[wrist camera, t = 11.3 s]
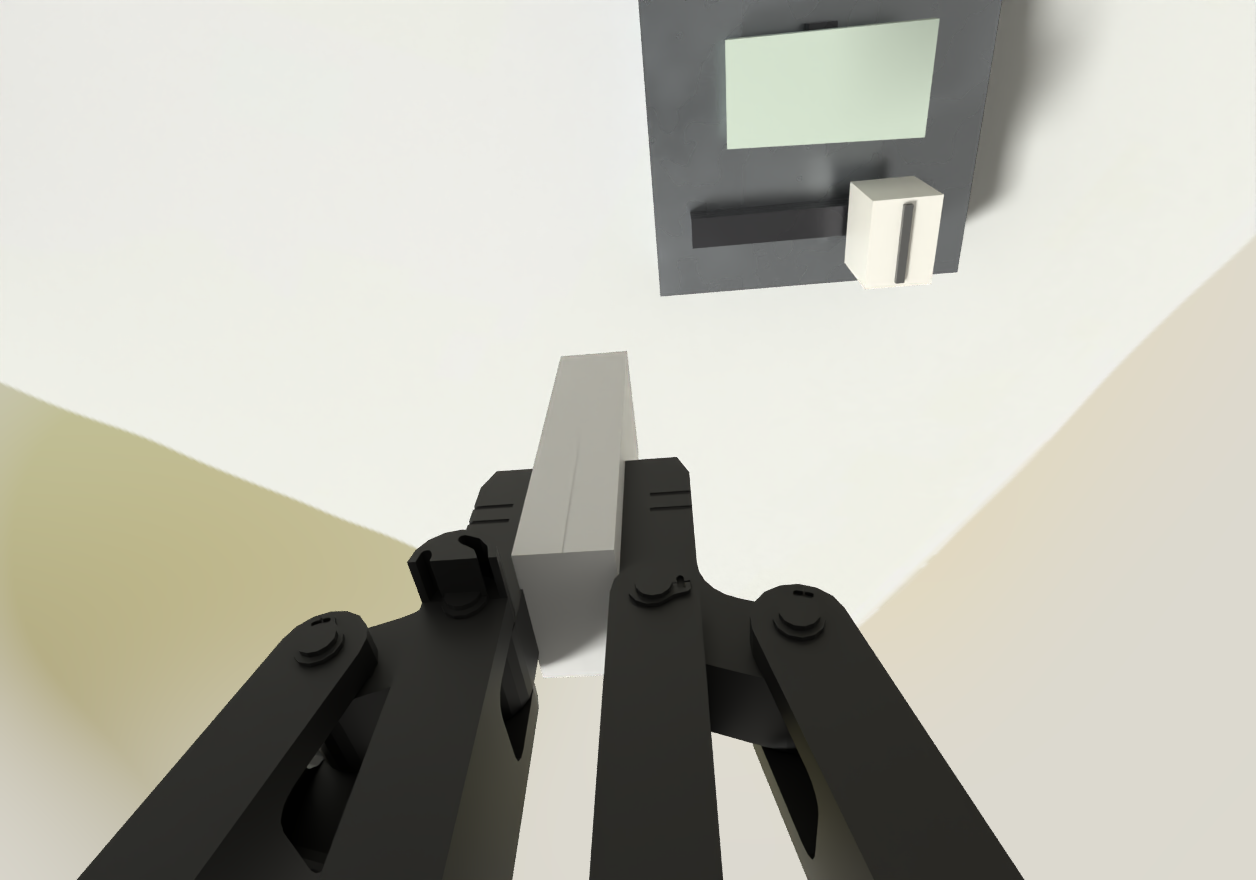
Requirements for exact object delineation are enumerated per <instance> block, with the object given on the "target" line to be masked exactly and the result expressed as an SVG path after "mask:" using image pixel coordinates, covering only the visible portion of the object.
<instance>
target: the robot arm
mask: <svg viewBox="0 0 1256 880" xmlns="http://www.w3.org/2000/svg"><path fill="white" fill-rule="evenodd" d="M474 507H475V510H473V512H472V515H471V518H470V521H469V522H470V524H469V525H468V526H467V529H466V530H458V531H453V532H447V533H444V534H442V535H439V536H437V537H435V538H433V539H430V540H428V541H427V542H426V543H424V544H423V545H422V546H421V547H419V548H418V549H417V550H415V552H414V553H413V555H412V556H411V558H410V559H409V560H408V562H407V563H408V566H409V569H410V571H411V574H412V577H413V579H414V582H415V585H416V587H417V590H418V593H419V595H420V598H421V601H422V605H421V608H420V610H418V611H417V612H415V613H413V614H410V615H408V616H405V617H402V618H400V619H396V620H393V621H390V622H387V623H383V624H380V625H377V626H373V627H370V628H368V627H367V625H366V624H365V623H364V621H363V620H362V618H361V617H360V616H359V615H356V614H353V613H351V612H348V611H338V612H337V611H336V612H328V613H325V614H322V615H318V616H315V617H313V618H311V619H309V620H307V621H306V622H304V623H303V624H301V625H298V626H297V627H296V628H294V629H293V630H292V631H291V632H290V633H289V634H288V635H287V636H286V637H285V638H283V639H282V641H281V642H280V643H279V644H278V645H277V647H276V648H275V649H274V650H273V651H272V652H271V653H270V655H269V656H268V657H267V658H266V659H265V661H264V662H263V663H262V664H261V665H260V667H258V669H257V670H256V671H255V672H254V673H253V675H252V676H251V677H250V678H249V679H248V680H247V682H246V683H245V684H244V685H243V686H242V687H241V688H240V690H239V691H238V692H237V693H236V694H235V695H234V697H233V698H232V699H231V700H230V701H229V702H228V704H227V705H226V706H225V707H224V709H222V711H221V712H220V713H219V714H218V715H217V717H216V718H215V719H214V720H213V721H212V722H211V724H210V725H209V726H208V727H207V728H206V729H205V731H204V732H203V733H202V734H201V735H200V736H199V738H198V739H197V740H196V741H195V742H194V743H193V745H192V746H191V747H190V748H189V749H188V750H187V752H186V753H185V754H184V755H183V756H182V757H181V759H180V760H179V761H178V762H177V763H176V764H175V766H174V767H173V768H172V769H171V770H170V772H169V773H168V774H167V775H166V776H165V777H164V778H163V780H162V781H161V782H160V783H159V784H158V785H157V787H156V788H155V789H154V790H153V791H152V792H151V794H150V795H149V796H148V797H147V798H146V799H145V801H144V802H143V803H142V804H141V805H140V807H139V808H138V809H137V810H136V811H135V812H134V814H133V815H132V816H131V817H130V818H129V819H128V821H127V822H126V823H125V824H124V825H123V827H121V829H120V830H119V831H118V832H117V833H116V835H115V836H114V837H113V838H112V839H111V840H110V842H109V843H108V844H107V845H106V846H105V847H104V849H103V850H102V851H101V852H100V853H99V855H98V856H97V857H96V858H95V859H94V860H93V861H92V863H91V864H90V865H89V866H88V867H87V868H86V870H85V871H84V872H83V873H82V874H81V875H80V877H79V878H78V879H77V880H512V877H513V871H514V864H515V858H516V852H517V845H518V839H519V832H520V825H521V819H522V812H523V806H524V799H525V793H526V787H527V780H528V774H529V767H530V761H531V754H532V748H533V741H534V735H535V728H536V722H537V715H538V709H539V708H538V695H537V691H536V688H535V684H534V679H535V674H536V667H537V662H538V660H539V664H540V668H541V671H542V675H543V678H554V677H575V676H595V675H596V676H598V675H604V679H603V680H604V681H603V694H602V708H601V722H600V736H599V750H598V764H597V777H596V791H595V805H594V820H593V833H592V847H591V861H590V877H589V880H723V873H722V862H721V849H720V836H719V824H718V813H717V800H716V787H715V775H714V763H713V750H712V738H711V732H714V733H718V734H722V735H725V736H729V737H732V738H736V739H739V740H743V741H746V742H750V743H753V746H754V749H755V751H756V754H757V756H758V759H759V761H760V763H761V766H762V769H763V771H764V774H765V776H766V778H767V781H768V783H769V786H770V788H771V791H772V793H773V796H774V798H775V801H776V803H777V805H778V808H779V810H780V813H781V815H782V818H783V820H784V823H785V825H786V828H787V830H788V832H789V835H790V837H791V840H792V842H793V845H794V847H795V849H796V852H797V854H798V857H799V859H800V862H801V864H802V866H803V869H804V872H805V874H806V876H807V879H808V880H1024V879H1023V877H1022V876H1021V874H1020V873H1019V871H1018V869H1017V868H1016V866H1015V865H1014V863H1013V862H1012V860H1011V859H1010V857H1009V856H1008V854H1007V853H1006V852H1005V850H1004V848H1003V847H1002V845H1001V844H1000V842H999V841H998V839H997V838H996V836H995V835H994V833H993V832H992V830H991V829H990V827H989V826H988V824H987V823H986V821H985V820H984V818H983V817H982V815H981V814H980V812H979V811H978V809H977V807H976V806H975V804H974V803H973V801H972V800H971V798H970V797H969V795H968V794H967V792H966V791H965V789H964V788H963V786H962V785H961V783H960V782H959V780H958V779H957V777H956V776H955V774H954V773H953V771H952V770H951V768H950V767H949V765H948V764H947V762H946V761H945V759H944V758H943V756H942V755H941V753H940V752H939V750H938V749H937V747H936V745H935V744H934V742H933V741H932V739H931V738H930V737H929V735H928V733H927V732H926V730H925V729H924V727H923V726H922V725H921V723H920V721H919V720H918V718H917V717H916V715H915V714H914V712H913V711H912V709H911V708H910V706H909V705H908V703H907V702H906V700H905V699H904V697H903V696H902V694H901V693H900V691H899V690H898V688H897V687H896V685H895V684H894V682H893V681H892V679H891V677H890V676H889V674H888V673H887V671H886V670H885V668H884V667H883V665H882V664H881V662H880V661H879V659H878V658H877V657H876V655H875V653H874V652H873V650H872V649H871V647H870V646H869V645H868V643H867V641H866V640H865V638H864V637H863V635H862V634H861V632H860V631H859V629H858V628H857V626H856V625H855V623H854V622H853V620H852V619H851V617H850V615H849V614H848V612H847V611H846V609H845V608H844V607H843V606H842V605H841V604H840V603H839V602H838V601H837V600H836V599H835V598H834V597H833V596H832V595H830V594H828V593H826V592H824V591H822V590H820V589H818V588H816V587H811V586H806V585H800V584H792V585H780V586H778V587H775V588H773V589H770V590H768V591H766V592H764V593H763V594H762V595H761V596H760V597H759V598H758V599H757V600H756V601H755V602H754V601H749V600H744V599H740V598H736V597H732V596H729V595H726V594H723V593H722V592H720V591H718V590H716V589H714V588H713V587H712V586H710V585H709V584H708V583H707V582H706V581H705V580H704V579H703V577H702V576H701V574H700V572H699V570H698V566H697V560H696V548H695V537H694V525H693V513H692V501H691V489H690V477H689V471H688V470H687V469H686V468H685V467H684V465H683V464H682V463H681V462H680V460H679V459H678V458H677V457H671V458H657V459H642V460H638V445H637V436H636V427H635V418H634V410H633V401H632V392H631V383H630V375H629V366H628V357H627V351H622V352H610V353H598V354H586V355H574V356H562V357H561V358H560V362H559V366H558V370H557V374H556V378H555V382H554V386H553V390H552V394H551V398H550V402H549V406H548V410H547V414H546V418H545V422H544V426H543V430H542V434H541V438H540V442H539V446H538V450H537V454H536V458H535V462H534V466H533V469H525V470H510V471H497V472H496V473H495V474H494V475H493V476H492V477H491V478H490V479H489V480H488V481H487V482H486V483H485V484H484V485H483V486H482V487H481V489H480V492H479V495H478V498H477V500H476V503H475V506H474Z"/></svg>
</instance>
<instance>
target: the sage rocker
mask: <svg viewBox="0 0 1256 880" xmlns="http://www.w3.org/2000/svg"><path fill="white" fill-rule="evenodd" d="M939 20H940V19H939V18H927V19H917V20H907V21H897V22H888V23H878V24H868V25H858V26H848V27H838V28H829V29H819V30H809V31H799V32H789V33H779V34H770V35H760V36H750V37H740V38H730V39H727V40H725V61H726V115H727V149H741V148H757V147H774V146H790V145H807V144H823V143H840V142H856V141H873V140H889V139H906V138H922V137H925V132H926V124H927V116H928V108H929V100H930V92H931V84H932V76H933V68H934V60H935V52H936V44H937V36H938V28H939Z"/></svg>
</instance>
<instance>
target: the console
mask: <svg viewBox="0 0 1256 880" xmlns="http://www.w3.org/2000/svg"><path fill="white" fill-rule="evenodd" d="M638 2H639V15H640V28H641V42H642V55H643V68H644V82H645V95H646V108H647V122H648V135H649V148H650V162H651V175H652V188H653V202H654V215H655V228H656V242H657V255H658V269H659V282H660V295H661V296H671V295H683V294H696V293H708V292H720V291H732V290H744V289H757V288H769V287H781V286H793V285H806V284H818V283H830V282H842V281H855V280H857V279H856V277H855V276H854V275H853V273H852V272H851V271H850V269H849V268H848V267H847V265H846V264H845V263H844V262H845V248H846V234H847V221H848V207H849V194H850V182H852V181H862V180H873V179H884V178H895V177H905V176H915V177H917V178H918V179H920V180H922V181H923V182H925V183H926V184H928V185H929V186H931V187H933V188H934V189H936V190H937V191H939V192H941V193H942V194H944V198H943V205H942V212H941V219H940V226H939V233H938V240H937V247H936V254H935V260H934V267H933V274H940V273H953V272H957V270H958V264H959V258H960V252H961V246H962V240H963V234H964V228H965V222H966V216H967V210H968V204H969V198H970V192H971V185H972V179H973V173H974V167H975V161H976V155H977V149H978V143H979V137H980V131H981V125H982V119H983V113H984V106H985V100H986V94H987V88H988V82H989V76H990V70H991V64H992V58H993V52H994V46H995V40H996V34H997V28H998V21H999V15H1000V9H1001V3H1002V0H638ZM927 18H939V19H940V20H939V28H938V36H937V44H936V52H935V60H934V68H933V76H932V84H931V92H930V100H929V108H928V116H927V124H926V132H925V137H922V138H906V139H889V140H873V141H856V142H840V143H823V144H807V145H790V146H774V147H757V148H741V149H727V115H726V61H725V40H727V39H730V38H740V37H750V36H760V35H770V34H779V33H789V32H799V31H809V30H819V29H829V28H838V27H848V26H858V25H868V24H878V23H888V22H897V21H907V20H917V19H927Z"/></svg>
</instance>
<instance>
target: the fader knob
mask: <svg viewBox="0 0 1256 880" xmlns="http://www.w3.org/2000/svg"><path fill="white" fill-rule="evenodd" d="M943 198H944V194H942V193H941V192H939V191H937V190H936V189H934V188H933V187H931V186H929V185H928V184H926V183H925V182H923V181H922V180H920V179H918V178H917V177H915V176H905V177H895V178H884V179H873V180H862V181H852V182H850V194H849V207H848V221H847V234H846V248H845V262H844V263H845V264H846V265H847V267H848V268H849V269H850V271H851V272H852V273H853V275H854V276H855V277H856V279H857V280H858V281H859V282H860V284H861V285H862V286H863V288H864V289H877V288H889V287H902V286H914V285H926V284H931V281H932V274H933V267H934V260H935V254H936V247H937V240H938V233H939V226H940V219H941V212H942V205H943Z"/></svg>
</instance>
